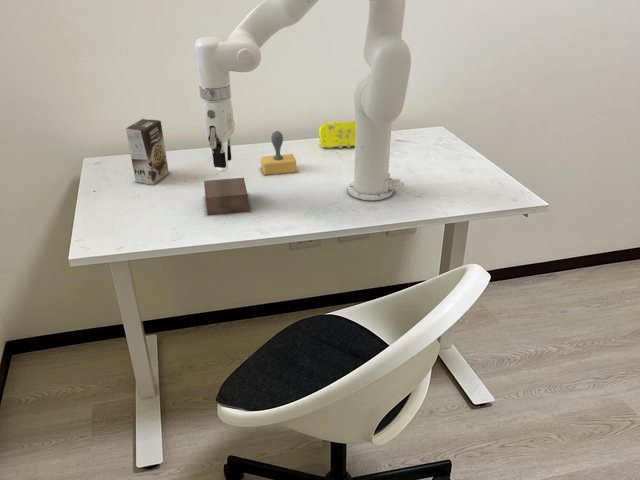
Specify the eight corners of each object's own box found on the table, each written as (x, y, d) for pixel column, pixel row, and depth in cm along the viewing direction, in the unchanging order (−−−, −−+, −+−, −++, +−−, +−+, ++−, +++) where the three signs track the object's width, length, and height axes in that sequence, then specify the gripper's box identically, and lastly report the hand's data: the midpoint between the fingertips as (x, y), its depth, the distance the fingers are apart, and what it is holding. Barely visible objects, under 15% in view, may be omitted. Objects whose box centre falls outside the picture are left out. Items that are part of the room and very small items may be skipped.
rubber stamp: (264, 175, 186) (261, 136, 179) (261, 168, 190) (258, 129, 183) (296, 172, 188) (295, 133, 180) (293, 165, 192) (291, 126, 185)
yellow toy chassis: (321, 150, 202) (321, 124, 197) (319, 143, 206) (319, 118, 202) (369, 147, 203) (370, 122, 198) (366, 141, 208) (367, 116, 203)
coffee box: (154, 185, 181) (144, 130, 171) (134, 182, 183) (124, 128, 173) (170, 173, 188) (161, 120, 178) (151, 170, 189) (142, 117, 180)
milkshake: (230, 173, 162) (226, 135, 156) (210, 171, 163) (206, 134, 157) (235, 166, 166) (232, 129, 160) (216, 165, 167) (212, 128, 161)
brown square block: (245, 194, 176) (243, 177, 173) (249, 211, 167) (247, 194, 164) (206, 197, 174) (203, 180, 171) (207, 215, 165) (205, 197, 162)
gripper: (220, 103, 145) (227, 177, 156) (239, 83, 159) (245, 152, 170) (189, 102, 146) (199, 175, 157) (211, 82, 160) (218, 151, 171)
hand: (222, 162), depth 163 cm, fingers closed on milkshake, 4 cm apart
